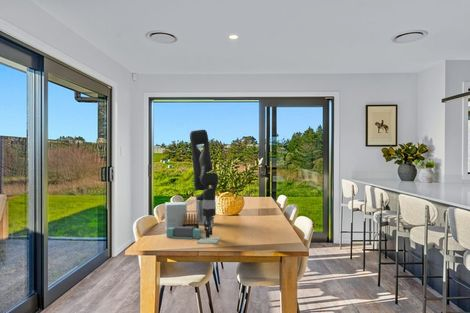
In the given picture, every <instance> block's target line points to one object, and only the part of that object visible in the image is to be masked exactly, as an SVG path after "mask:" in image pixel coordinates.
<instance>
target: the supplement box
mask: <svg viewBox="0 0 470 313" xmlns="http://www.w3.org/2000/svg"><path fill="white" fill-rule="evenodd" d="M187 207H188V206H187V203H186V202H184V201H172V202H171V201H169V202H167V201H166V202H164V230H165V231H166V233H167V229H168V228H169V227H176V226H180V227H182V225H183V214H184V215H185V219H186V213H187V212H188V211H187V209H188V208H187Z"/></svg>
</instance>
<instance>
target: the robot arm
mask: <svg viewBox="0 0 470 313" xmlns="http://www.w3.org/2000/svg"><path fill="white" fill-rule="evenodd" d="M189 140H190V149H191V153H192V154H191V155H192V157H191V158H192V169H193V186H194V189H195V190H196V191H203V192H202V193H200V194H198V195H196V197H195V198H196V199H195V205H196V206H195V215H196V218H197V213H198V219H199V226H200V225H201V226H204V232H205V237H206V238H209V237H211V236H212V235H213V228H214V223H215V222H214V220H215V216H216V213H217V212H216V209H217V208H216V206H217V204H216V192H217V191H216V190H217V186H218V184H219V176H218V173H216V172H211V171H213V163H212V159H211V151H210V150H211V149H210V142H209V136H208V132H207V130H206V129H198V130H191V132H190V133H189ZM200 145H203V149H202V151H201V150H200V149H199V147H198V146H200Z"/></svg>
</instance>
